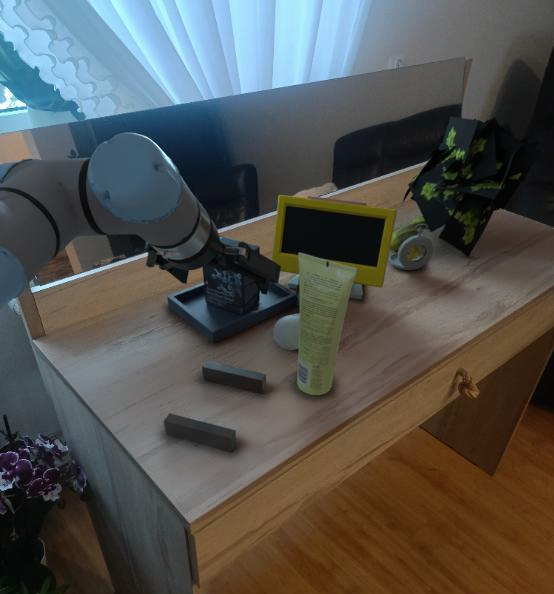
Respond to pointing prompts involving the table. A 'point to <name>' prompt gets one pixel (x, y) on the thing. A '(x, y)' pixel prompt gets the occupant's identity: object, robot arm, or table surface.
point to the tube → (321, 320)
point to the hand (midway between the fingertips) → (225, 280)
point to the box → (230, 286)
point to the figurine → (287, 332)
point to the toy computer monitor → (334, 237)
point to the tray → (222, 321)
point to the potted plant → (467, 181)
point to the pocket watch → (413, 252)
